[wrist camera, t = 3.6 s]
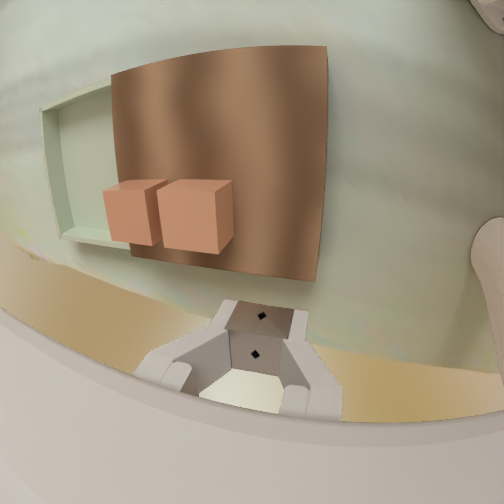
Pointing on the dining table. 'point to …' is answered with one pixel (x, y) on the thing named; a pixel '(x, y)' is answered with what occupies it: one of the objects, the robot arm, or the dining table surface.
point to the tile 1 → (134, 211)
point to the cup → (492, 278)
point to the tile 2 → (196, 214)
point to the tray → (80, 162)
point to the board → (234, 147)
